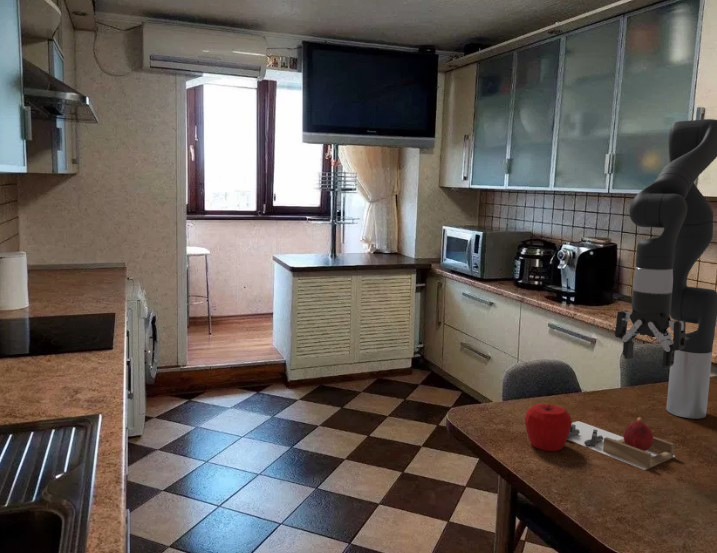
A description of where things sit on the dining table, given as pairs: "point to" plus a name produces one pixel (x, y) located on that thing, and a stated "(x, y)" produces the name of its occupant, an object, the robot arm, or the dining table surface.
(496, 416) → the dining table surface
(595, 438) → the board
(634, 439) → the onion
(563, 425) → the apple
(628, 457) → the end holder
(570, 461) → the dining table surface
